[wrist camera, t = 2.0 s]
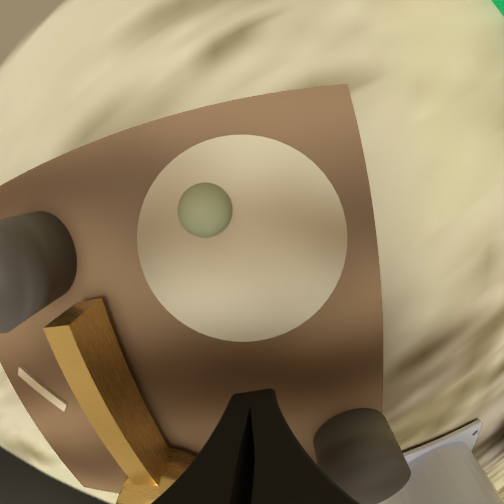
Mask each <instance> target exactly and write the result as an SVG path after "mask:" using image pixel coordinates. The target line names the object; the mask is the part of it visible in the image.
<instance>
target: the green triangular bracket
mask: <svg viewBox="0 0 504 504" xmlns="http://www.w3.org/2000/svg"><path fill="white" fill-rule="evenodd" d="M492 1H493V3H494V4H495V5H496V6H497V8H498V9H499V10H500V12H501V13H502V14H503V16H504V0H492Z"/></svg>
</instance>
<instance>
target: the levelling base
mask: <svg viewBox="0 0 504 504" xmlns="http://www.w3.org/2000/svg"><path fill="white" fill-rule="evenodd" d="M98 298H102V300H103V303H104V306H105V309H106V312H107V314H108V317H109V320H110V323H111V325H112V328H113V331H114V333H115V336H116V339H117V341H118V344H119V346H120V349H121V351H122V354H123V356H124V358H125V361H126V363H127V365H128V368H129V370H130V372H131V375H132V377H133V379H134V381H135V383H136V386H137V388H138V390H139V392H140V394H141V396H142V398H143V400H144V402H145V404H146V407H147V409H148V411H149V412H150V414H151V416H152V418H153V420H154V422H155V424H156V426H157V428H158V430H159V432H160V433H161V435H162V437H163V439H164V441H165V442H166V444H167V446H168V448H172V449H177V450H181V451H184V452H187V453H189V454H192V455H194V456H197V455H198V453H199V452H200V451H201V449H202V448H203V446H204V445H205V443H206V442H207V440H208V439H209V437H210V436H211V434H212V432H213V431H214V429H215V427H216V426H217V424H218V422H219V420H220V419H221V417H222V415H223V413H224V411H225V409H226V407H227V405H228V403H229V401H230V399H231V397H232V395H233V394H235V393H243V392H250V391H256V390H263V389H269V388H272V389H273V390H275V393H276V398H277V402H278V405H279V408H280V410H281V412H282V414H283V416H284V418H285V420H286V422H287V424H288V425H289V427H290V429H291V430H292V432H293V434H294V435H295V437H296V438H297V440H298V441H299V443H300V444H301V445H302V447H303V448H304V450H305V451H306V452H307V453H308V455H309V456H310V457H311V458H312V460H313V461H314V462H315V463H316V464H317V465H318V466H319V468H320V469H321V470H322V471H323V472H324V473H325V474H326V475H327V476H328V477H329V478H330V479H331V480H332V481H333V482H334V483H335V484H337V485H338V486H339V487H340V488H341V489H342V490H343V491H345V492H346V493H347V494H348V495H349V496H350V497H352V498H353V499H354V500H355V501H357V502H358V503H360V504H378V503H380V502H383V501H384V500H386V499H388V498H390V497H391V496H393V495H394V494H396V493H397V492H398V491H400V490H401V489H402V488H403V487H404V486H405V485H406V483H407V482H408V481H409V479H410V476H411V470H410V468H409V466H408V464H407V461H406V459H405V457H404V455H403V453H402V451H401V449H400V447H399V445H398V443H397V441H396V439H395V437H394V435H393V433H392V431H391V429H390V427H389V425H388V423H387V421H386V419H385V417H384V415H383V414H382V413H381V411H382V390H383V317H382V296H381V281H380V268H379V257H378V247H377V238H376V229H375V221H374V214H373V207H372V200H371V193H370V187H369V181H368V175H367V170H366V164H365V159H364V154H363V149H362V144H361V139H360V134H359V130H358V125H357V121H356V117H355V113H354V109H353V104H352V101H351V97H350V93H349V89H348V85H347V84H345V85H333V86H322V87H313V88H305V89H297V90H289V91H282V92H276V93H270V94H264V95H258V96H252V97H247V98H242V99H237V100H232V101H227V102H223V103H218V104H214V105H210V106H206V107H201V108H197V109H194V110H190V111H186V112H182V113H179V114H175V115H171V116H168V117H164V118H161V119H158V120H155V121H151V122H148V123H145V124H142V125H139V126H136V127H133V128H130V129H127V130H124V131H121V132H118V133H116V134H113V135H110V136H107V137H105V138H102V139H99V140H97V141H94V142H92V143H89V144H87V145H84V146H82V147H79V148H77V149H75V150H72V151H70V152H68V153H65V154H63V155H61V156H59V157H56V158H54V159H52V160H50V161H48V162H46V163H43V164H41V165H39V166H37V167H35V168H33V169H31V170H29V171H27V172H25V173H23V174H21V175H19V176H18V177H16V178H14V179H12V180H10V181H8V182H6V183H5V184H3V185H1V186H0V362H1V364H2V366H3V368H4V370H5V372H6V374H7V376H8V378H9V380H10V382H11V384H12V386H13V388H14V389H15V391H16V393H17V395H18V396H19V398H20V400H21V402H22V403H23V405H24V407H25V408H26V410H27V412H28V413H29V415H30V416H31V418H32V419H33V421H34V423H35V424H36V426H37V427H38V429H39V430H40V432H41V433H42V434H43V436H44V437H45V439H46V440H47V442H48V443H49V444H50V446H51V447H52V448H53V450H54V451H55V452H56V454H57V455H58V456H59V458H60V459H61V460H62V461H63V463H64V464H65V465H66V466H67V468H68V469H69V470H70V471H71V473H72V474H73V475H74V476H75V477H76V478H77V480H78V481H79V482H80V483H81V484H82V485H83V486H84V487H87V488H92V489H97V490H102V491H108V492H114V493H120V491H121V488H122V486H123V483H124V481H125V478H126V474H125V472H124V471H123V470H122V468H121V467H120V466H119V464H118V463H117V462H116V460H115V459H114V457H113V456H112V455H111V453H110V452H109V450H108V449H107V447H106V446H105V444H104V443H103V441H102V440H101V438H100V437H99V435H98V434H97V432H96V431H95V429H94V428H93V426H92V424H91V423H90V421H89V419H88V418H87V416H86V414H85V413H84V411H83V409H82V408H81V406H80V404H79V402H78V401H77V399H76V397H75V395H74V393H73V391H72V390H71V388H70V386H69V384H68V382H67V380H66V378H65V376H64V374H63V372H62V370H61V368H60V366H59V364H58V362H57V360H56V357H55V355H54V353H53V351H52V349H51V346H50V344H49V342H48V339H47V337H46V335H45V332H44V330H43V328H44V327H45V326H46V325H47V324H49V323H50V322H51V321H53V320H54V319H55V318H57V317H58V316H59V315H60V314H62V313H63V312H64V311H66V310H67V309H68V308H70V307H71V306H72V305H74V304H75V303H77V302H80V301H86V300H92V299H98Z"/></svg>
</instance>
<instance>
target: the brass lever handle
mask: <svg viewBox="0 0 504 504" xmlns="http://www.w3.org/2000/svg"><path fill="white" fill-rule="evenodd" d="M43 330H44V332H45V335H46V337H47V339H48V342H49V344H50V346H51V349H52V351H53V353H54V355H55V357H56V360H57V362H58V364H59V366H60V368H61V370H62V372H63V374H64V376H65V378H66V380H67V382H68V384H69V386H70V388H71V390H72V391H73V393H74V395H75V397H76V399H77V401H78V402H79V404H80V406H81V408H82V409H83V411H84V413H85V414H86V416H87V418H88V419H89V421H90V423H91V424H92V426H93V428H94V429H95V431H96V432H97V434H98V435H99V437H100V438H101V440H102V441H103V443H104V444H105V446H106V447H107V449H108V450H109V452H110V453H111V455H112V456H113V457H114V459H115V460H116V462H117V463H118V464H119V466H120V467H121V468H122V470H123V471H124V472H125V474H126V478H125V481H124V483H123V486H122V488H121V491H120V493H119V496H118V499H117V501H116V504H151V503H152V502H153V501H155V500H156V499H157V498H158V497H159V496H160V495H161V494H163V493H164V492H165V491H166V490H167V489H168V488H169V487H170V486H171V485H172V484H173V483H174V482H175V481H176V480H177V479H178V478H179V477H180V476H181V474H182V473H183V472H184V471H185V470H186V469H187V468H188V466H189V465H190V464H191V463H192V461H193V460H194V459H195V458H196V456H194V455H192V454H189V453H187V452H184V451H181V450H177V449H172V448H168V446H167V444H166V442H165V441H164V439H163V437H162V435H161V433H160V432H159V430H158V428H157V426H156V424H155V422H154V420H153V418H152V416H151V414H150V412H149V411H148V409H147V407H146V404H145V402H144V400H143V398H142V396H141V394H140V392H139V390H138V388H137V386H136V383H135V381H134V379H133V377H132V375H131V372H130V370H129V368H128V365H127V363H126V361H125V358H124V356H123V354H122V351H121V349H120V346H119V344H118V341H117V339H116V336H115V333H114V331H113V328H112V325H111V323H110V320H109V317H108V314H107V312H106V309H105V306H104V303H103V300H102V298H98V299H92V300H86V301H80V302H77V303H75V304H74V305H72V306H71V307H70V308H68V309H67V310H66V311H64V312H63V313H62V314H60V315H59V316H58V317H57V318H55V319H54V320H53V321H51V322H50V323H49V324H47V325H46V326H45V327H44V328H43Z"/></svg>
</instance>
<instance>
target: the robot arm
mask: <svg viewBox="0 0 504 504" xmlns="http://www.w3.org/2000/svg"><path fill="white" fill-rule="evenodd" d="M481 426H482V423H481V421H480V420H476V421H474V422H472V423H470V424H469V425H467V426H465V427H463V428H461V429H458V430H456V431H454V432H452V433H450V434H448V435H446V436H443V437H441V438H439V439H437V440H434V441H432V442H430V443H427V444H425V445H422V446H420V447H417V448H415V449H412V450H409V451H407V452H404V453H403V455H404V457H405V459H406V461H407V464H408V466H409V468H410V470H411V476H410V479H409V481H408V482H407V483H406V485H405V486H404V487H403V488H402V489H401V490H400V491H398V492H397V493H396V494H394V495H393V496H391V497H390V498H388V499H386V500H384V501H383V502H380V503H378V504H504V502H503V500H502V499H501V497H500V495H499V494H498V492H497V490H496V489H495V487H494V486H493V484H492V483H491V481H490V479H489V478H488V476H487V475H486V473H485V472H484V470H483V469H482V467H481V466H480V464H479V463H478V461H477V460H476V458H475V457H474V455H473V454H472V452H471V451H472V449H473V446H474V444H475V442H476V439H477V437H478V434H479V431H480V429H481ZM151 504H360V503H358V502H357V501H355V500H354V499H353V498H352V497H350V496H349V495H348V494H347V493H346V492H345V491H343V490H342V489H341V488H340V487H339V486H338V485H337V484H335V483H334V482H333V481H332V480H331V479H330V478H329V477H328V476H327V475H326V474H325V473H324V472H323V471H322V470H321V469H320V468H319V466H318V465H317V464H316V463H315V462H314V461H313V460H312V458H311V457H310V456H309V455H308V453H307V452H306V451H305V450H304V448H303V447H302V445H301V444H300V443H299V441H298V440H297V438H296V437H295V435H294V434H293V432H292V430H291V429H290V427H289V425H288V424H287V422H286V420H285V418H284V416H283V414H282V412H281V410H280V408H279V405H278V402H277V398H276V393H275V390H273V389H272V388H269V389H263V390H256V391H250V392H243V393H235V394H233V395H232V397H231V399H230V401H229V403H228V405H227V407H226V409H225V411H224V413H223V415H222V417H221V419H220V420H219V422H218V424H217V426H216V427H215V429H214V431H213V432H212V434H211V436H210V437H209V439H208V440H207V442H206V443H205V445H204V446H203V448H202V449H201V451H200V452H199V453H198V455H197V456H196V458H195V459H194V460H193V461H192V463H191V464H190V465H189V466H188V468H187V469H186V470H185V471H184V472H183V473H182V474H181V476H180V477H179V478H178V479H177V480H176V481H175V482H174V483H173V484H172V485H171V486H170V487H169V488H168V489H167V490H166V491H165V492H164V493H163V494H161V495H160V496H159V497H158V498H157V499H156V500H155V501H153V502H152V503H151Z"/></svg>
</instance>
